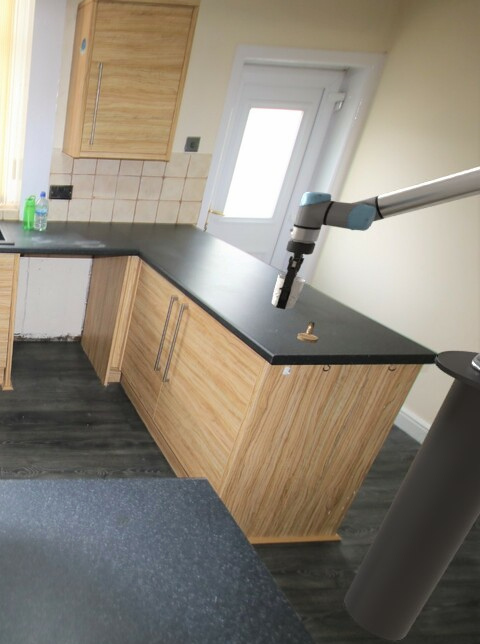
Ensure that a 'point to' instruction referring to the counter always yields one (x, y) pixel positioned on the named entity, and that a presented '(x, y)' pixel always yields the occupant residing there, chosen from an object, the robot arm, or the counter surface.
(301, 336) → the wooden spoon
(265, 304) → the counter surface
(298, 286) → the white cup
